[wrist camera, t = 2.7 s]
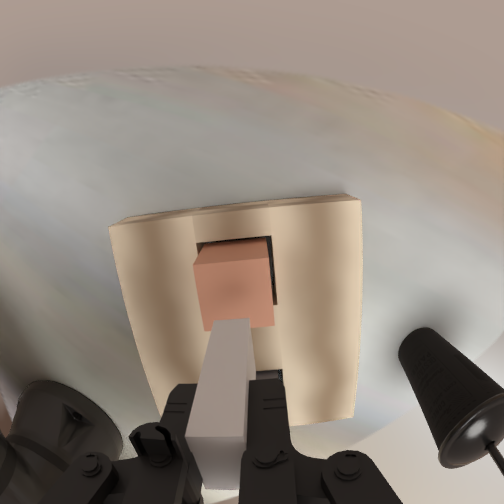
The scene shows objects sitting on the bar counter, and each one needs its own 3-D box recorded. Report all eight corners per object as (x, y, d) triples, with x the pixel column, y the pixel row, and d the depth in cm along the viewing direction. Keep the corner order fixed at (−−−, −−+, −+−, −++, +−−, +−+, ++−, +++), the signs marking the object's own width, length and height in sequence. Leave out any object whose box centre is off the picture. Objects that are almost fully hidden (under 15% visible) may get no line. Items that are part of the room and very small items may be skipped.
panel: (173, 404, 31) (166, 430, 27) (127, 217, 26) (108, 227, 22) (344, 391, 31) (353, 417, 27) (345, 193, 25) (360, 199, 21)
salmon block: (213, 299, 25) (204, 331, 20) (204, 243, 24) (192, 265, 19) (270, 294, 25) (274, 325, 20) (265, 237, 23) (268, 257, 19)
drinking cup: (375, 341, 29) (469, 511, 10) (439, 301, 28) (571, 430, 9) (396, 388, 31) (470, 534, 11) (453, 352, 30) (552, 475, 10)
